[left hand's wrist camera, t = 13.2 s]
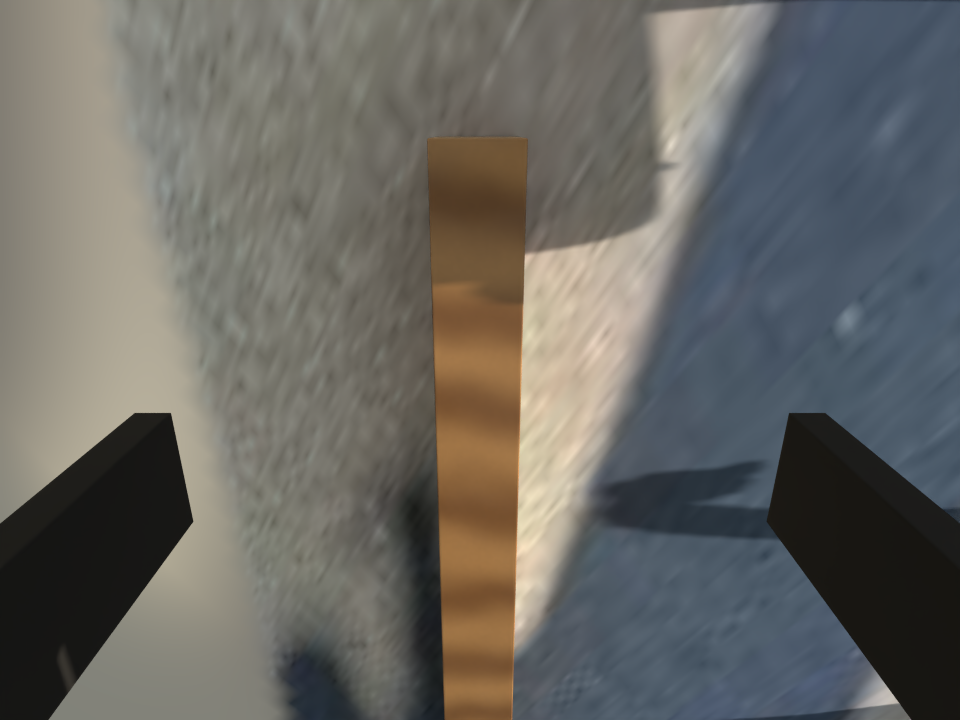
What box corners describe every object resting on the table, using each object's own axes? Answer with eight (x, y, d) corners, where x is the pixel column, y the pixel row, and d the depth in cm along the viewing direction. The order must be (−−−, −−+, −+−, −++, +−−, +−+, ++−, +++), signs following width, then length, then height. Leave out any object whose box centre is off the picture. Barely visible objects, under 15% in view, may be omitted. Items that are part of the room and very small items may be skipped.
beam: (437, 136, 39) (427, 138, 31) (517, 136, 39) (527, 138, 31) (454, 837, 64) (450, 936, 56) (502, 837, 64) (506, 936, 56)
